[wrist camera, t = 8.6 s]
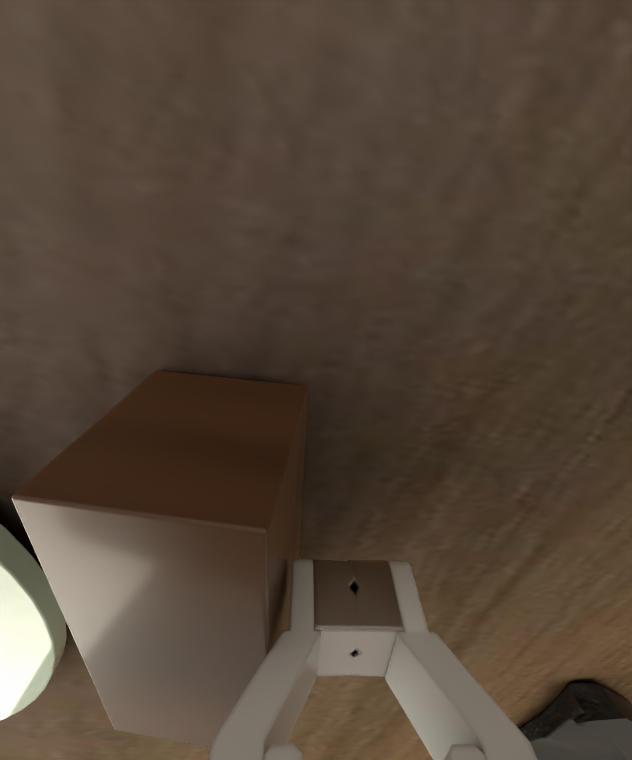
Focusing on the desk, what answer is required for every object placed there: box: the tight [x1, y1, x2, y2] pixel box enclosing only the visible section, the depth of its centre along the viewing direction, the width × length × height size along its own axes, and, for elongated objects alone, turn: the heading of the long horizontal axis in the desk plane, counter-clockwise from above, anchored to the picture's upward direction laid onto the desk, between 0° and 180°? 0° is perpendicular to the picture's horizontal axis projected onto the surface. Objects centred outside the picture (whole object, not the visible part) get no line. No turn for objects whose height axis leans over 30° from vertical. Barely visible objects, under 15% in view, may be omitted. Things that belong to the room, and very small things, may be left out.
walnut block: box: [12, 371, 308, 748], centre depth 9 cm, size 8×4×4 cm, turn 177°
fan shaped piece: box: [519, 682, 632, 760], centre depth 20 cm, size 8×14×2 cm, turn 6°
